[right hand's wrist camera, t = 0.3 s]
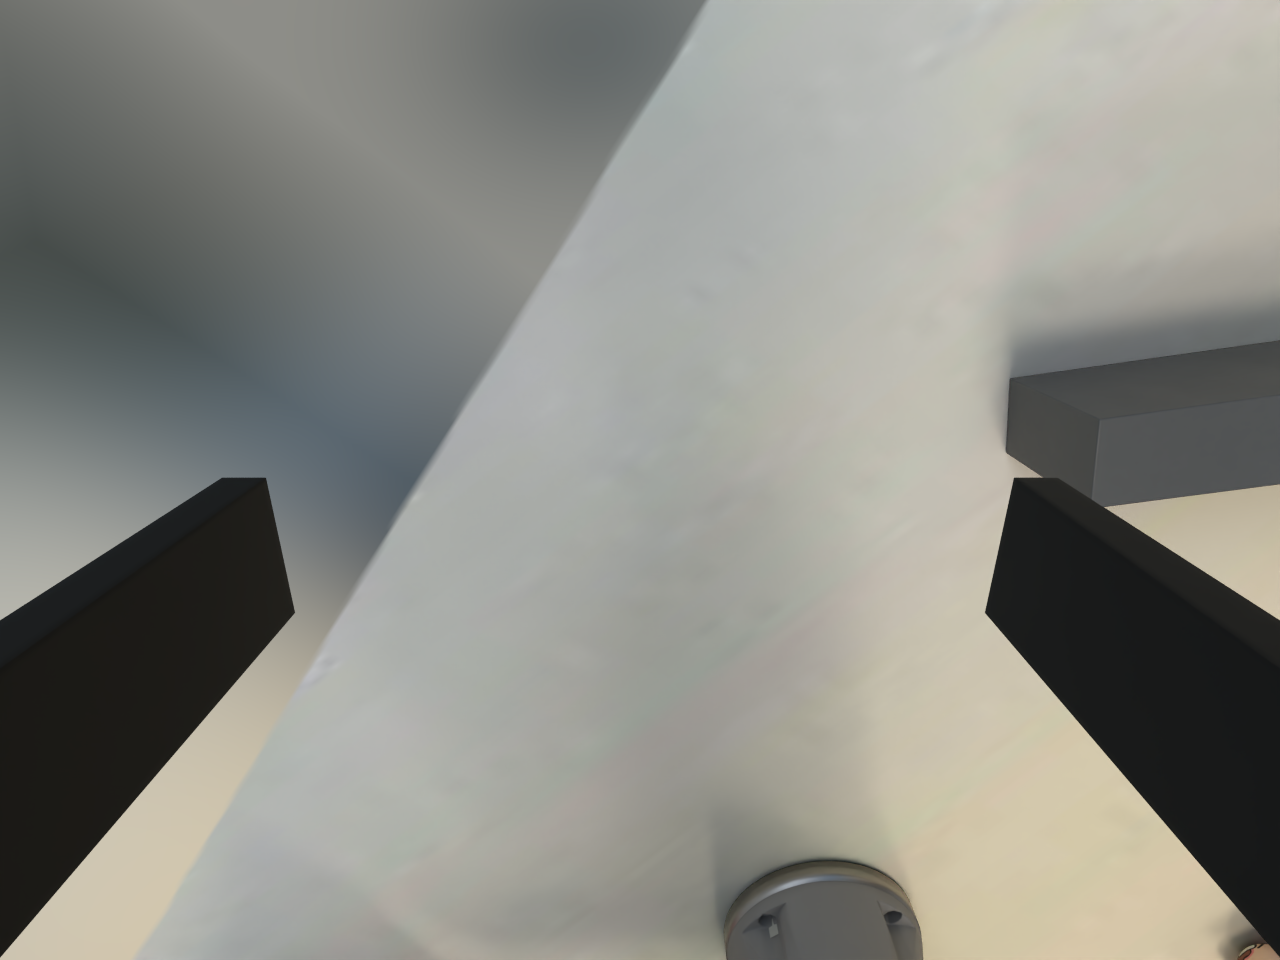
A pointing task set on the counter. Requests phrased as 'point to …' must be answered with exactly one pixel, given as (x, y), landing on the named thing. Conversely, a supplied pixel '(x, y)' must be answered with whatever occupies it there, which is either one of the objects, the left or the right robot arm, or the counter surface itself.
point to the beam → (1153, 425)
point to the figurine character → (1258, 953)
